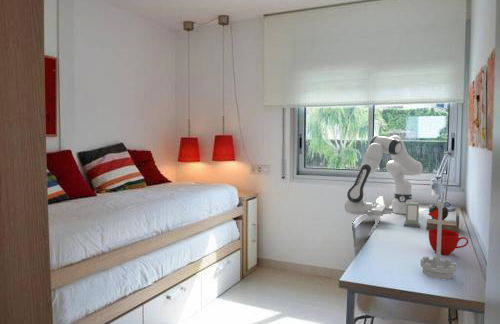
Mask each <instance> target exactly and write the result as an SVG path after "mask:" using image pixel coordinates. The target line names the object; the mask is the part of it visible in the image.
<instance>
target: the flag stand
mask: <svg viewBox="0 0 500 324" xmlns="http://www.w3.org/2000/svg"><path fill="white" fill-rule="evenodd" d="M436 203H437V204H436ZM436 203H435V204H436V206H437V208H438V209H437V210H435V211H433V212H431V213H429V212H428V213H427V215H429V217H431V216H432V217H434V218H436V219H438V226H437V252H435V253H436V256H432V259H431V258H430V257H429V256H423V257H422V258H420V262H419V265H420V267H421V268H422V273H424V274H425V276H426V275H427V277H428V276H429V277H428V278H431V277H432V279H435V278H437V279H436V280H442V279H447V280H451V278H452V279H453V277H454V274H455V272H456V271H457V263H456V262H453V261H452V259H449V258H444V260H442V259H441V255H442V254H441V231H442V209H443V208H444V206H445V203H444V201H442V202H441V201H438V202H436ZM432 217H431V218H432ZM424 274H423V275H424Z"/></svg>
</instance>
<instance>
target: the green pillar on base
mask: <svg viewBox="0 0 500 324" xmlns="http://www.w3.org/2000/svg"><path fill="white" fill-rule="evenodd" d="M413 202H414V201H413ZM413 202H407V204H406V214H405V221H404V223H403V227H407V228H417V229H419V228H420V227H421V222H419V215H420V213H419V212H420V211H419V209H420V203H419V202H414V203H413Z"/></svg>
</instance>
